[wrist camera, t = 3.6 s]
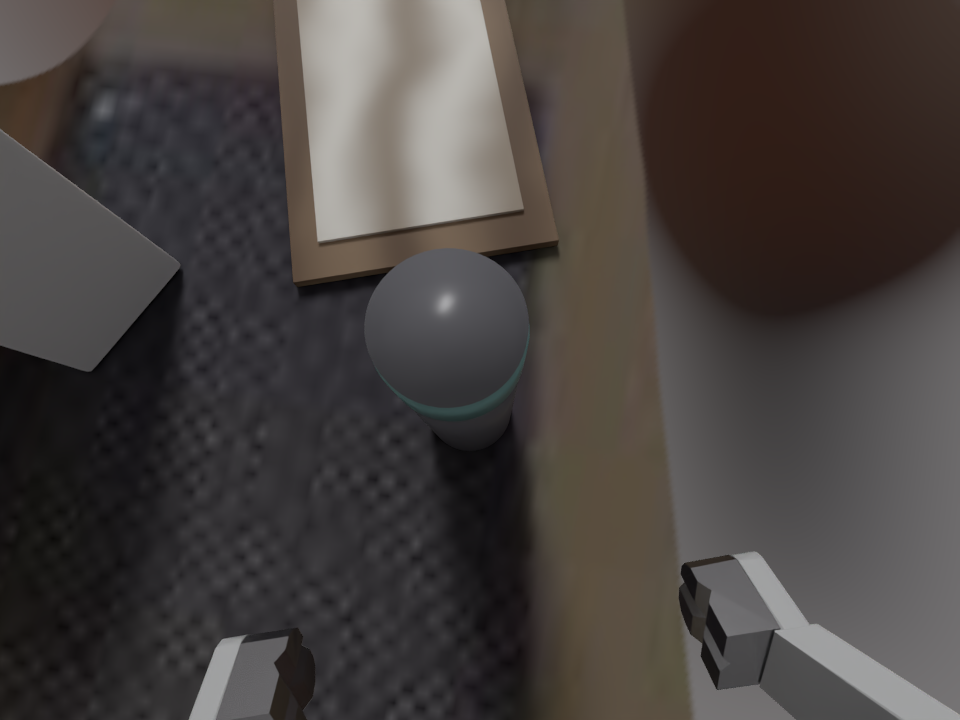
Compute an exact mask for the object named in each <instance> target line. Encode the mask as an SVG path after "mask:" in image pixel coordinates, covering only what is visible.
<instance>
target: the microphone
mask: <svg viewBox="0 0 960 720" xmlns="http://www.w3.org/2000/svg"><path fill="white" fill-rule="evenodd" d="M364 329H365V340H366V346H367V349H368V352H369V355H370V358H371V360H372V362H373V364H374V366H375V368H376V370H377V372H378V373H379V375H380V376H381V378H382V379H383V381H384V382H385V383H386V384H387V385H388V386H389V387H390V388H391V389H392V390H393V391H394V392H395V393H396V395H397V396H398V397H399V398H400V399H401V400H402V401H403V402H404V403H405V404H407V405H408V406H409V407H410V408H412V409H413V410H414V411H415V412H416V413H417V414H418V415H419V416H420V417H421V418H422V420H423V421H424V422H425V423H426V424H427V425H428V426H429V427H430V428H431V429H432V430H433V431H434V432H435V433H436V434H437V436H438V437H439V438H440V439H441V440H442V441H443V442H445V443H446V444H447V445H449V446H451V447H453V448H455V449H458V450H462V451H477V450H481V449H484V448H487V447H489V446H491V445H492V444H494V443H495V442H496V441H497V440H498V439H499V438H500V437H501V436H502V435H503V433H504V432H505V430H506V428H507V426H508V424H509V420H510V416H511V411H512V407H513V402H514V398H515V393H516V389H517V384H518V380H519V378H520V376H521V372H522V369H523V365H524V361H525V357H526V352H527V348H528V342H529V318H528V310H527V306H526V303H525V299H524V297H523V295H522V292H521V290H520V288H519V287H518V285H517V283H516V282H515V281H514V279H513V278H512V277H511V276H510V274H509V273H508V272H507V271H506V270H504V269H503V268H502V267H501V266H500V265H498V264H497V263H496V262H494V261H493V260H491V259H489V258H487V257H485V256H483V255H481V254H478V253H476V252H472V251H468V250H463V249H456V248H442V249H434V250H429V251H425V252H422V253H419V254H416V255H414V256H412V257H410V258H408V259H406V260H404V261H403V262H401V263H400V264H398V265H397V266H395V267H394V268H393V269H392V270H391V271H389V273H388V274H387V275H386V276H385V277H384V278H383V279H382V280H381V282H380V283H379V284H378V286H377V287H376V289H375V291H374V293H373V294H372V296H371V299H370V301H369V304H368V307H367V311H366V315H365V325H364Z"/></svg>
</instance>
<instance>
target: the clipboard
mask: <svg viewBox="0 0 960 720" xmlns="http://www.w3.org/2000/svg"><path fill="white" fill-rule="evenodd" d="M273 3H274V18H275V32H276V46H277V60H278V74H279V88H280V103H281V117H282V131H283V145H284V159H285V173H286V188H287V202H288V216H289V230H290V244H291V258H292V273H293V283H294V284H295V285H296V286H297V287H301V286H307V285H313V284H319V283H326V282H332V281H338V280H344V279H351V278H357V277H363V276H369V275H376V274H382V273H388V272H389V271H391V270H392V269H393V268H394V267H395V266H397V265H398V264H400V263H401V262H403V261H404V260H406V259H408V258H410V257H412V256H414V255H416V254H419V253H422V252H425V251H429V250H434V249H442V248H456V249H463V250H468V251H472V252H476V253H478V254H481V255H483V256H485V257H488V256H495V255H501V254H507V253H513V252H520V251H526V250H532V249H538V248H545V247H551V246H557V245H558V241H559V238H558V234H557V229H556V225H555V221H554V216H553V212H552V207H551V203H550V198H549V194H548V190H547V185H546V181H545V176H544V172H543V167H542V163H541V159H540V154H539V150H538V145H537V141H536V136H535V132H534V128H533V123H532V119H531V114H530V110H529V105H528V101H527V97H526V92H525V88H524V83H523V79H522V74H521V70H520V66H519V61H518V57H517V52H516V48H515V43H514V39H513V35H512V30H511V26H510V21H509V17H508V13H507V8H506V4H505V0H273Z"/></svg>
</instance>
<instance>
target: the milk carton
mask: <svg viewBox="0 0 960 720" xmlns="http://www.w3.org/2000/svg"><path fill="white" fill-rule="evenodd" d="M179 268H180V263H179V262H178V261H177V260H175V259H174V258H173V257H171V256H170V255H169V254H167V253H166V252H165V251H163V250H162V249H161V248H159V247H158V246H157V245H155V244H154V243H152V242H151V241H150V240H148V239H147V238H146V237H144V236H143V235H142V234H140V233H139V232H138V231H136V230H135V229H134V228H132V227H131V226H130V225H128V224H127V223H126V222H124V221H123V220H122V219H120V218H119V217H117V216H116V215H115V214H113V213H112V212H111V211H109V210H108V209H107V208H105V207H104V206H103V205H101V204H100V203H99V202H97V201H96V200H95V199H93V198H92V197H91V196H89V195H88V194H87V193H85V192H84V191H82V190H81V189H80V188H78V187H77V186H76V185H74V184H73V183H72V182H70V181H69V180H68V179H66V178H65V177H64V176H62V175H61V174H60V173H58V172H57V171H56V170H54V169H53V168H52V167H50V166H49V165H47V164H46V163H45V162H43V161H42V160H41V159H39V158H38V157H37V156H35V155H34V154H33V153H31V152H30V151H29V150H27V149H26V148H25V147H23V146H22V145H21V144H19V143H18V142H17V141H15V140H14V139H13V138H11V137H10V136H8V135H7V134H6V133H4V132H3V131H2V130H0V346H4V347H7V348H10V349H14V350H17V351H20V352H23V353H27V354H30V355H33V356H37V357H40V358H43V359H46V360H50V361H53V362H56V363H60V364H63V365H66V366H69V367H73V368H76V369H79V370H82V371H87V372H89V371H92V370H93V369H94V368H95V367H96V366H97V365H98V363H99V362H100V361H101V360H102V359H103V358H104V357H105V355H106V354H107V353H108V352H109V351H110V349H111V348H112V347H113V346H114V345H115V344H116V342H117V341H118V340H119V339H120V338H121V337H122V335H123V334H124V333H125V332H126V331H127V330H128V328H129V327H130V326H131V325H132V324H133V322H134V321H135V320H136V319H137V318H138V317H139V315H140V314H141V313H142V312H143V311H144V310H145V308H146V307H147V306H148V305H149V304H150V302H151V301H152V300H153V299H154V298H155V297H156V295H157V294H158V293H159V292H160V291H161V290H162V288H163V287H164V286H165V285H166V284H167V283H168V281H169V280H170V279H171V278H172V277H173V275H174V274H175V273H176V272H177V271H178V269H179Z"/></svg>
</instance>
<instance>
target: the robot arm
mask: <svg viewBox="0 0 960 720" xmlns="http://www.w3.org/2000/svg"><path fill="white" fill-rule="evenodd" d="M681 576H682V578H683V580H684V583H683V584H682V585H681V586H680V587H679V602H680V608H681V612H682V615H683V618H684V621H685V623H686V625H687V628H688V630H689V632H690V634H691V635H692V636H693V637H695V638H696V639H697V640H699V641H700V642H701V643H702V651H701V658H702V660H703V662H704V664H705V666H706V668H707V670H708V673H709V675H710V677H711V679H712V681H713V683H714V685H715V687H716V689H717V690H721V689H728V688H736V687H743V686H750V685H758V684H760V688H761V689H763V690H764V691H765V692H766V693H767V694H768V695H769V696H770V697H772V698H773V699H774V700H775V701H776V702H777V703H779V705H780V706H782V707H783V708H784V709H785V710H786V711H787V712H788V713H789V714H791V715H792V716H793V717H794V718H795V719H796V720H960V715H959V714H958V713H956V712H954V711H953V710H951V709H950V708H948V707H947V706H945V705H944V704H942V703H940V702H939V701H937V700H936V699H934V698H932V697H931V696H929V695H928V694H926V693H924V692H923V691H922V690H920V689H919V688H917V687H915V686H914V685H912V684H911V683H909V682H908V681H906V680H904V679H903V678H901V677H899V676H898V675H897V674H895V673H893V672H892V671H890V670H889V669H887V668H886V667H884V666H883V665H881V664H879V663H878V662H876V661H875V660H873V659H872V658H870V657H868V656H867V655H865V654H864V653H862V652H861V651H859V650H858V649H856V648H854V647H853V646H851V645H850V644H848V643H847V642H845V641H844V640H842V639H840V638H839V637H837V636H836V635H834V634H832V633H831V632H829V631H828V630H826V629H825V628H823V627H822V626H820V625H818V624H809V623H808V621H807V620H806V619H805V617H804V616H803V614H802V613H801V611H800V610H799V609H798V607H797V606H796V604H795V603H794V601H793V600H792V599H791V597H790V596H789V594H788V593H787V591H786V590H785V589H784V587H783V586H782V584H781V583H780V582H779V580H778V579H777V577H776V576H775V574H774V573H773V572H772V570H771V569H770V567H769V566H768V565H767V563H766V562H765V560H764V559H763V557H762V556H761V555H760V554H758V553H757V552H753V551H751V552H746V553H741V554H735V555H725V556H720V557H714V558H709V559H703V560H698V561H692V562H687V563H684V564H683V565H682V568H681ZM302 639H303V636H302V634H301V632H300V631H299V629H298V628H291V629H285V630H278V631H272V632H265V633H259V634H253V635H244V636H238V637H232V638H226V639H222V640H221V642H220V643H219V644H218V646H217V647H216V649H215V651H214V653H213V656H212V659H211V661H210V664H209V667H208V669H207V672H206V675H205V677H204V680H203V683H202V685H201V688H200V691H199V693H198V696H197V699H196V701H195V704H194V707H193V709H192V712H191V715H190V717H189V720H307V719H306V717H305V715H304V712H303V710H304V709H305V707H306V706H307V704H308V703H309V702H310V700H311V699H312V698H313V692H314V686H315V662H314V658H313V655H312V653H311V651H310V649H309V648H307V647H305V646H302V645H301V644H302Z"/></svg>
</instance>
